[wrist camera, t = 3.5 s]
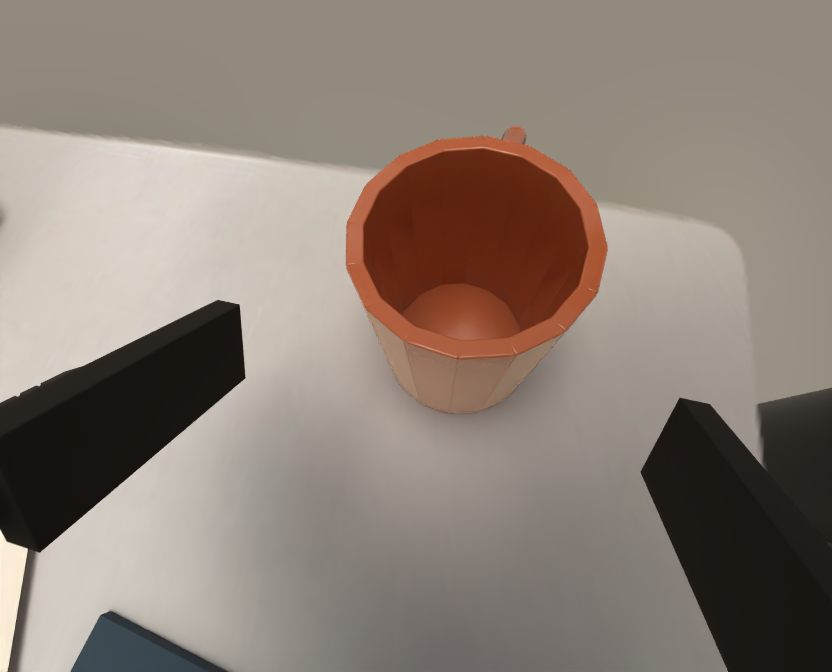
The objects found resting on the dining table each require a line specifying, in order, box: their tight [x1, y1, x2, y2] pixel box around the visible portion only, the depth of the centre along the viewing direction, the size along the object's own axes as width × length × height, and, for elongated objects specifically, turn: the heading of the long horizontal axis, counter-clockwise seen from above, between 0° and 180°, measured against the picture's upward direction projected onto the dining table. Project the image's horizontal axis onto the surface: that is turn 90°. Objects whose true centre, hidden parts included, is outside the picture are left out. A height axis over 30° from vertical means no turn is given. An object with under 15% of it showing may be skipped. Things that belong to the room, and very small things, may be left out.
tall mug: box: [346, 126, 608, 414], centre depth 18 cm, size 11×8×11 cm
